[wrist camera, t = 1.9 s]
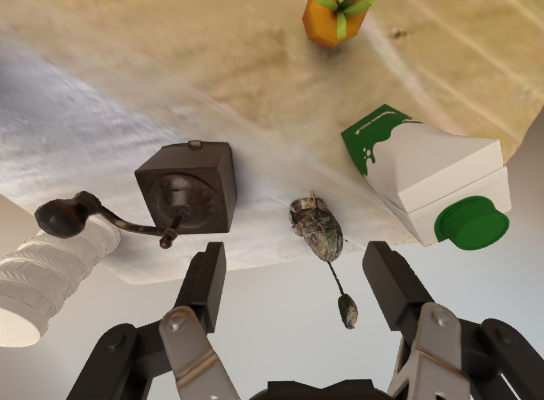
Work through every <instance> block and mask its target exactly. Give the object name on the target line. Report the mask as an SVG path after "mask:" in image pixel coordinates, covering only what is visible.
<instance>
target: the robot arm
mask: <svg viewBox="0 0 544 400" xmlns="http://www.w3.org/2000/svg"><path fill="white" fill-rule="evenodd" d="M362 266H363V271H364V273H365V275H366V277H367V280H368V282H369V284H370V286H371V288H372V290H373V293H374V295H375V297H376V299H377V301H378V304H379V306H380V308H381V310H382V312H383V314H384V317H385V319H386V321H387V323H388V325H389V328H390V330H391V331H401V333H402V335H403V337H402V338H401V342H400V347H399V352H398V356H397V361H396V365H395V370H394V375H393V378H392V381H391V383H390V386H389V388H388V391H387V393H385V392H383V391H381V390H378V389H377V388H374V386H373V383H372V380H371V379H357V380H356V379H355V380H344V381H341V382H339V383H336V384H334V385H331V386H328V387H326V388H323V389H318V388H315V387H312V386H309V385H305V384H302V383H299V382H295V381H269V382H268V389H265V390H263V391H261V392H259V393H257V394H255V395H254V396H253V397H251V398H250V399H249V400H470V394H471V395H472V397H473V399H474V400H518V399H517V398H516V396H515V395H514V393H513V392H512V391H511V389H510V388H509V386H508V385H507V383H506V382H505V380H504V379H503V378H502V376H501V374H502V373H503V375H504V376H505V378H506V379H507V381H508V382H509V383H510V385H511V386H512V388H513V389H514V391H515V392H516V393H517V395H518V396H519V398H520V399H521V400H544V360H543V359H542V357H541V356H540V355H539V354H538V353H537V352H536V351H535V349H534V348H533V347H532V346H531V345H530V344H529V343H528V341H527V340H526V339H525V338H524V337H523V336H522V335H521V334H520V333H519V332H518V331H517V330H516V329H514V328H513V327H512V326H510V325H508V324H507V323H505V322H503V321H500V320H497V319H491V318H489V319H486V320H484V321H483V322H482V323H481V324H477V323H474V322H470V321H467V320H463V319H459V318H457V317H456V316H455V315H454V314H453V313H452V312H451V311H450V310H449V309H447V308H446V307H444V306H442V305H440V304H437V303H435V301H434V300H433V299H432V297H431V296H430V294H429V293H428V291H427V290H426V289H425V288H424V286H423V284H422V283H421V281H420V280H419V279H418V277H417V276H416V275H415V273H414V271H413V270H412V269H411V268H410V266H409V264H408V263H407V261H406V260H405V258H404V257H403V256H401V255H400V254H399V253H398V252H396V251H392V250H391V249H390V247H389V246H388V244H387V243H386V242H385V241H370V242H369V243H368V246H367V249H366V252H365V255H364V258H363V262H362ZM225 274H226V257H225V250H224V244H223V242H209V243H208V245H207V248H206V251H205V252H198V253H197V254H196V255H195V256H194V257H193V259H192V260H191V263H190V265H189V269H188V271H187V273H186V277H185V279H184V281H183V284H182V287H181V289H180V292H179V295H178V297H177V300H176V303H175V305H174V307H173V309H172V310H170V311H169V312H167V313H166V315H165V316H164V317H163V318H162V319H161V320H159V321H157V322H154V323H151V324H148V325H145V326H142V327H139V328H135V327H134V326H133V325H132V324H128V323H124V324H119V325H117V326H114V327H113V328H111V329H109V330H108V331H107V332H106V333H104V334H103V335H102V336H101V338H100V339H99V340H98V342H97V344H96V345H95V348H94V349H93V351H92V353H91V355H90V357H89V358H88V360H87V362H86V364H85V366H84V368H83V369H82V371H81V373H80V375H79V377H78V379H77V380H76V382H75V384H74V386H73V388H72V390H71V392H70V393H69V395H68V397H67V399H66V400H147V396H148V393H149V390H150V387H151V383H152V380H153V378H154V377H156V376H159V375H161V374H164V373H167V372H169V371H172V370H173V373H174V376H175V380H176V386H177V389H178V393H179V396H180V399H181V400H241V399H240V397H239V396H238V393H237V391H236V390H235V388H234V386H233V384H232V382H231V380H230V378H229V376H228V374H227V372H226V370H225V368H224V366H223V364H222V362H221V360H220V358H219V357H218V355H217V354H216V352H215V351H214V350H213V348H212V346H211V344H210V342H209V340H208V338H207V333H214V331H215V325H216V320H217V315H218V310H219V305H220V300H221V294H222V289H223V284H224V279H225Z"/></svg>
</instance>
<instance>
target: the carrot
mask: <svg viewBox="0 0 544 400" xmlns="http://www.w3.org/2000/svg"><path fill="white" fill-rule="evenodd" d="M374 1H375V0H308V3H307V6H306V9H305V12H304V15H303V18H302V20H303V23H304V27H305V30H306V33H307V36H308V39H309V40H311V41H313V42H315V43H318V44H320V45H322V46H324V47H334V46H336V45H338V44H340V43H342V42H344V41H346V40H347V39H349V38H351V37H353V36H355V35H357V33H358V31H359V28H360V26H361V24H362V22H363V20H364V17H365V15H366V13H367V11H368V9H369V7H370V6H371V5H372V4H373V2H374Z"/></svg>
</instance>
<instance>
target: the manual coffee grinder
mask: <svg viewBox="0 0 544 400" xmlns="http://www.w3.org/2000/svg"><path fill="white" fill-rule="evenodd" d="M134 174H135V177H136V179H137V182H138V185H139V187H140V189H141V192H142V194H143V197H144V200H145V202H146V205H147V207H148V210H149V212H150V214H151V217H152V219H153V221H154V223H155V225H156V227H152V226H143V225H137V224H132V223H129V222H127V221H124V220H123V219H121V218H119V217H118V216H116V215H115V214H114V213H113V212H111V211H110V210H108V209H107V208H105V207H104V206H102V205H101V202H100V201H99V199H98V198H96V197H95V196H94V195H93V194H91V193H89V192H87V191H82V192H79V193H77V194H76V195H75V197H74V198H73V199H66V200H63V199H56V200H53V201H49V202H48V203H46V204H44V205H42V206H40V207H39V208H38V209H37V211H36V212H35V214H34V215H35V217H36V220H37V222H38V225H39V227H40V228H41V229H42V230H43V231H44V232H46V233H47V234H49V235H52V236H55V237H58V238H62V239H67V238H71V237H74V236H76V235H78V234H80V233H81V232H82V231H83V230H84V229H85V225H86V221H87V220H88V218H89V216H92V215H97V214H100V215H102V216H103V217H104V218H105V219H106V220H108V221H109V222H110V223H112V224H113V225H115V226H117V227H119V228H120V229H123V230H126V231H129V232H134V233H140V234H148V235H155V236H163V238H162V239H160V247H161V248H163V249H168V248H170V247H171V246H172V241H174V240H175V239H176V237H177V236H178V235H182V234H209V233H229V231H230V227H231V223H232V219H233V214H234V210H235V205H236V201H237V188H236V181H235V174H234V166H233V159H232V153H231V148H230V146H229V144H228V143H226V142H201V141H199V140H194V141H188V143H182V144H172V145H168V146H163V147H162V148H161V150H159V151H158V152H157V153H156V154H155V155H153V156H152V157H151V158H150V159H149V160H148V161H146V162H145V163H144V164H143V165H142V166H141V167H140V168H138V169H137V170H135V172H134Z"/></svg>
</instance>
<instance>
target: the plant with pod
mask: <svg viewBox="0 0 544 400" xmlns="http://www.w3.org/2000/svg"><path fill="white" fill-rule="evenodd" d="M310 193H311V196H312V197H313V198H309V199H308V200H307V199H306V198H305V199H303V200H301V199H300V200H297V201H296V200H295V202H293V203H292V204H291V208H290V214H289V215H290V217H289V219H291V220H290V221H291V224H293V226H292V228H293V229H295V230H294V231H295V234H298V236H299V235H300V236H303V237H304V239H305V241H306V242H307V243H308V245H309V246H310V247H311V249H312V250H313V251H314V253H315V254H316V255H317V256H318V257H319V258H320V259H321V260H323V261H325V262H326V261H327V263H328V264H329V266H330V268H331V270H332V272H333V275H334V277H335V279H336V281H337V284H338V286H339V289H340V292H341V294H342V296H341V297H339V299H338V306H339V310H340V314H341V318H342V321H343V323H344V324H345V327H346V328H347V329H354V324H355V323H356V321H357V316H358V311H357V306H356V305H355V303H354V301H353V300H352V298H351V297H350V296H349V295H348V294H344V292H343V289H342V287H341V285H340V283H339V280H338V279H337V276H336V274H335V272H334V270H333V268H332V266H331V263H330V262H332V261H334V260H335V259H337V258H338V257H339V255H340V253H341V251H342V247H343V234H342V231H341V227H340V225H339V223H338V222H337V220H336V219H335V218H334V216H333V214H332V213H331V212H329V210H328V209H327V207H326V205H325V204H324V203H325V202H324V201H323V200H322V199H319V198H317V199H316V198H315V196H314V194H313V191H312V190H311V191H310ZM345 241H346V242H348V241H347V240H346V239H345Z"/></svg>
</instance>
